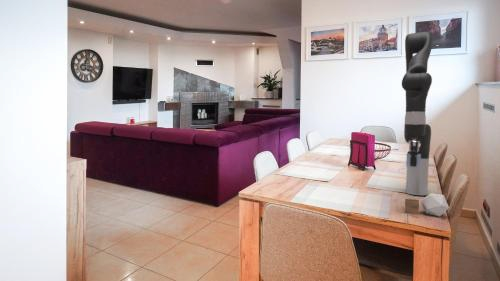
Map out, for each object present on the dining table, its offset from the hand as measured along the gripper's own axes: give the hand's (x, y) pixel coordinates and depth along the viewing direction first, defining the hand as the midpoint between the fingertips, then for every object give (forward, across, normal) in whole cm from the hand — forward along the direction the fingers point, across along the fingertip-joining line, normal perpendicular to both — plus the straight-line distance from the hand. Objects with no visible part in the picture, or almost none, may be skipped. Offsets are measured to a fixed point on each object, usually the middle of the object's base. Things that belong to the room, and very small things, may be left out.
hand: (413, 165), depth 129 cm
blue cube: (0, 0, 0) cm, 0 cm away
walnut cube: (+19, 0, 0) cm, 19 cm away
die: (+14, -1, +3) cm, 15 cm away
